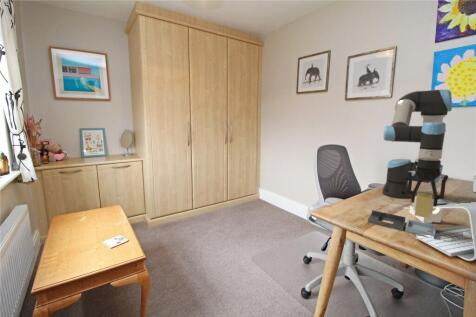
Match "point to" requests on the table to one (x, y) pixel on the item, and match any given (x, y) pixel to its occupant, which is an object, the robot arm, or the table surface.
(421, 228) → the tray
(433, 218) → the bracket
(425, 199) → the mustard yellow block
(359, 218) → the table surface
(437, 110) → the robot arm
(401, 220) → the dark grey shallow tray
